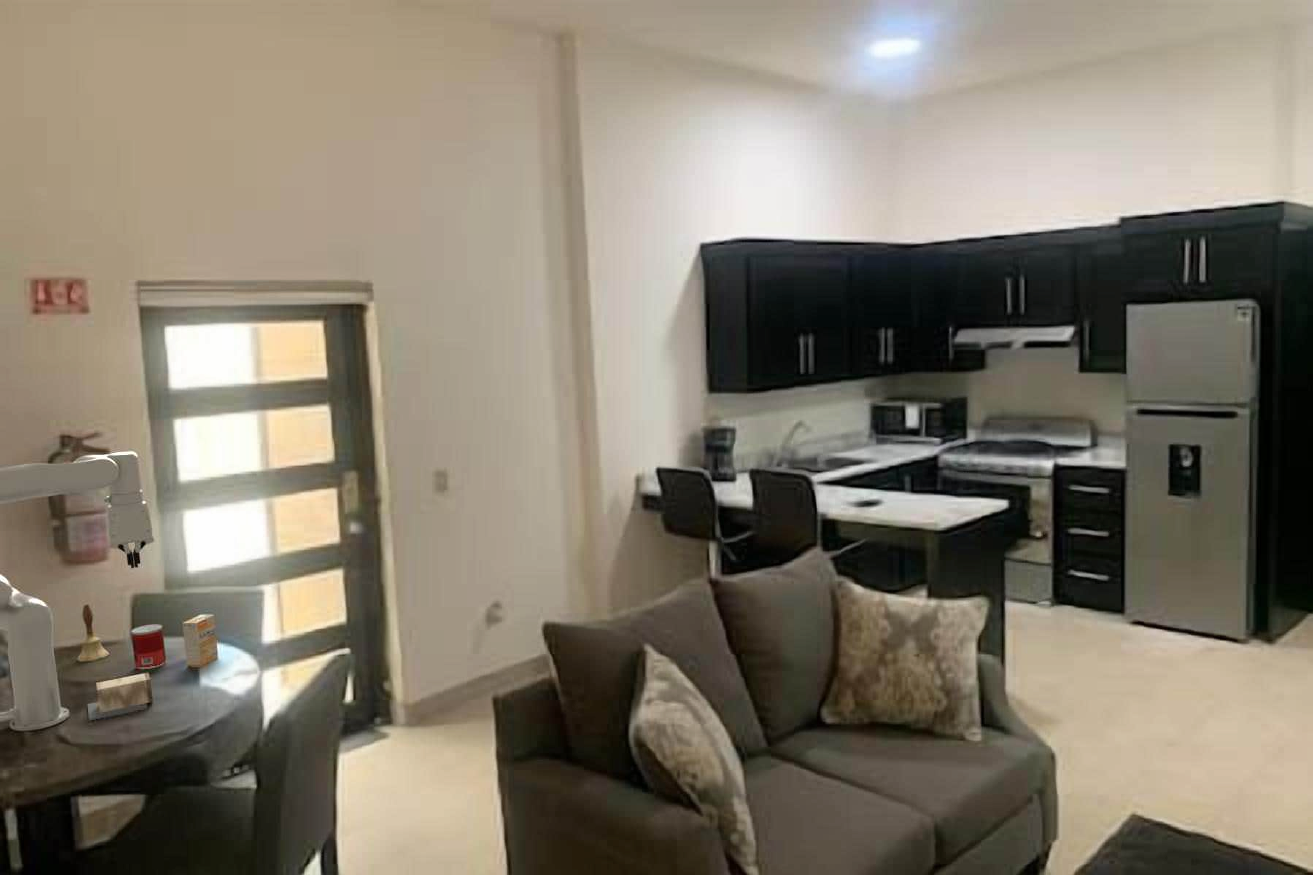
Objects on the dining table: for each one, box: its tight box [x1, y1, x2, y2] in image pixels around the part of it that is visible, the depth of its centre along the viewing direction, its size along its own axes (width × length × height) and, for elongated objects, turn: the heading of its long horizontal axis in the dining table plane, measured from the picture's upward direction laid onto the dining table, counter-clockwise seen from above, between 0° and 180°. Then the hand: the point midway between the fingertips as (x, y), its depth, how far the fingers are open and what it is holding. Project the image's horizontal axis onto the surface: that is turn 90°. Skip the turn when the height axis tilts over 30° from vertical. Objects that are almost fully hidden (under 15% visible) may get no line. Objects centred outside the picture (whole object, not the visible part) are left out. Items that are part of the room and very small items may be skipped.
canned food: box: [130, 623, 167, 668], centre depth 292 cm, size 8×8×11 cm
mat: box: [87, 701, 148, 722], centre depth 261 cm, size 13×12×1 cm
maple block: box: [96, 672, 154, 713], centre depth 262 cm, size 6×6×12 cm
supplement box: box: [181, 614, 219, 668], centre depth 292 cm, size 8×5×13 cm, turn 168°
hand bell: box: [76, 603, 110, 663], centre depth 302 cm, size 8×8×16 cm
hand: (134, 566), depth 271 cm, fingers closed
